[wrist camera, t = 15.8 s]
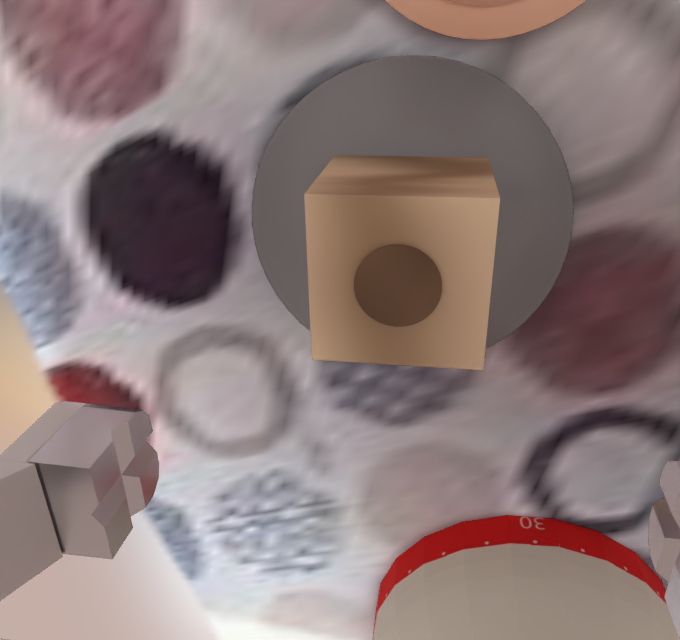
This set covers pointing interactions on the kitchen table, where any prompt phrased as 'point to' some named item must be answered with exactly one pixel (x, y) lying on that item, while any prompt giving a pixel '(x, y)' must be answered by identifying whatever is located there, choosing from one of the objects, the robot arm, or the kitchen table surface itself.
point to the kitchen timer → (521, 586)
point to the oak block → (401, 260)
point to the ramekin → (483, 15)
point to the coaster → (421, 140)
